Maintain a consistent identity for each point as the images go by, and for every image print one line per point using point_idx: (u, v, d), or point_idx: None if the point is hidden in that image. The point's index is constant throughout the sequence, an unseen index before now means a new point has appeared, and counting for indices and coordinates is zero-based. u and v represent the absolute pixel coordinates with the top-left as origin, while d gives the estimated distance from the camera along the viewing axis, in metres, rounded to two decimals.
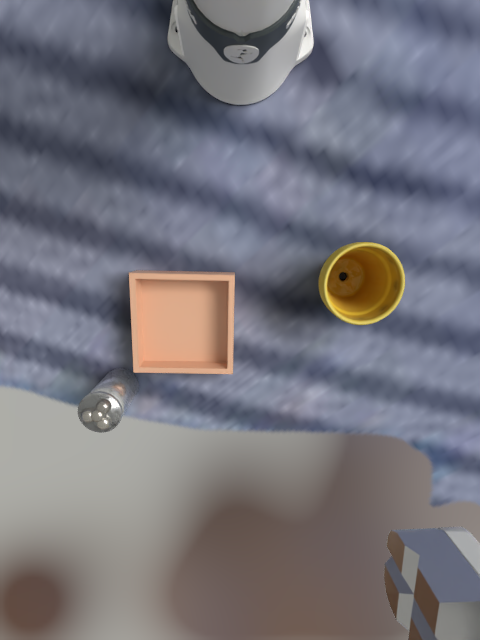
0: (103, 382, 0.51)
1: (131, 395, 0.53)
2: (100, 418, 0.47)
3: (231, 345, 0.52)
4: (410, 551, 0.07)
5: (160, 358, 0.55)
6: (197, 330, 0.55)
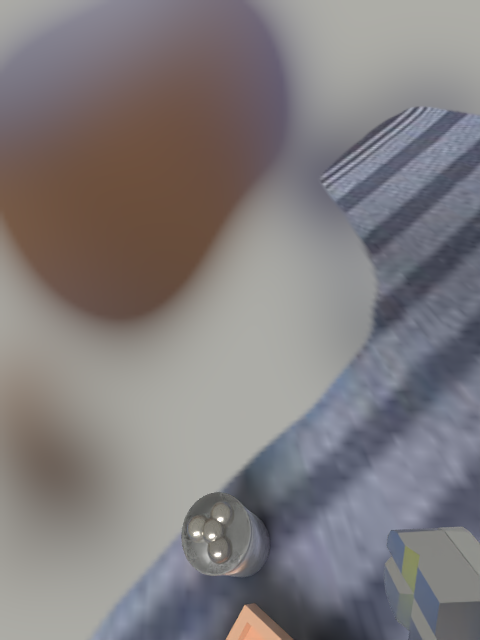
0: (257, 549, 0.31)
1: None
2: (205, 534, 0.28)
3: None
4: (410, 551, 0.07)
5: None
6: None
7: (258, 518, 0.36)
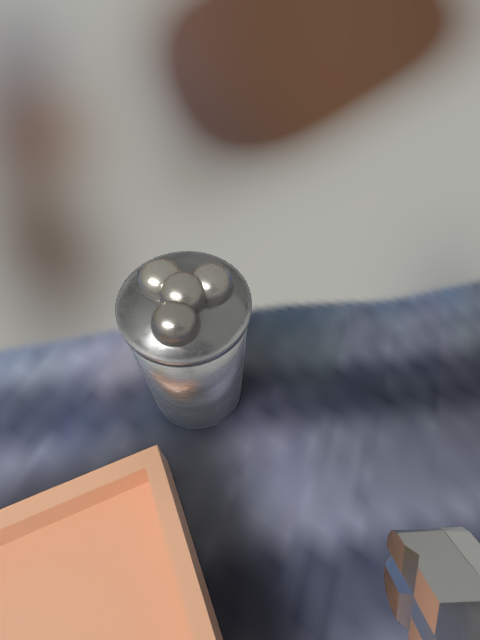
0: (223, 385, 0.18)
1: None
2: (167, 284, 0.14)
3: None
4: (410, 551, 0.07)
5: (109, 507, 0.18)
6: None
7: None
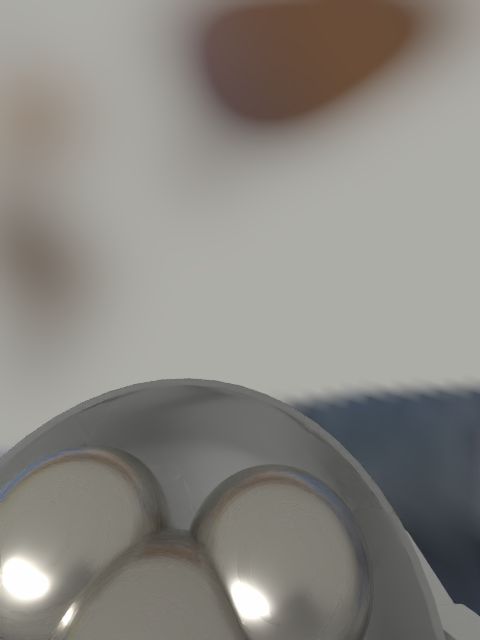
0: None
1: None
2: None
3: None
4: None
5: None
6: None
7: None
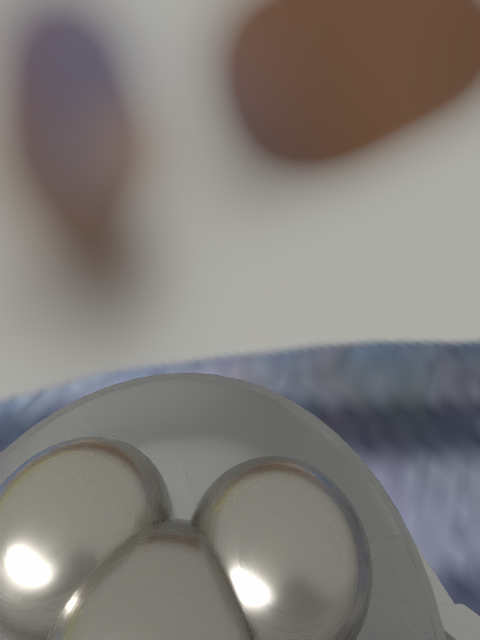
0: None
1: None
2: None
3: None
4: None
5: None
6: None
7: None
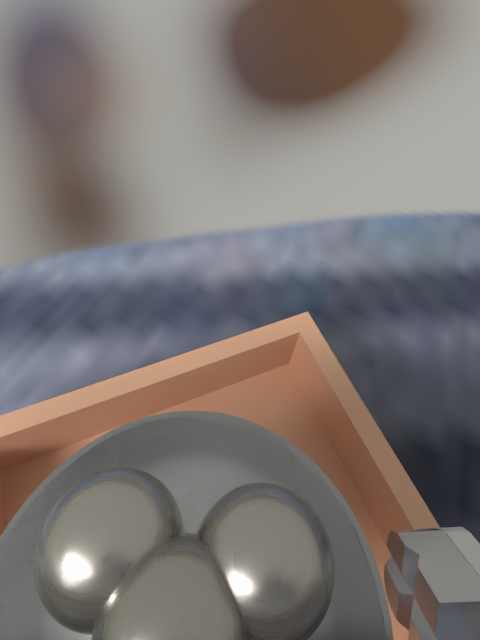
0: None
1: None
2: None
3: None
4: (410, 551, 0.07)
5: (243, 388, 0.17)
6: None
7: None
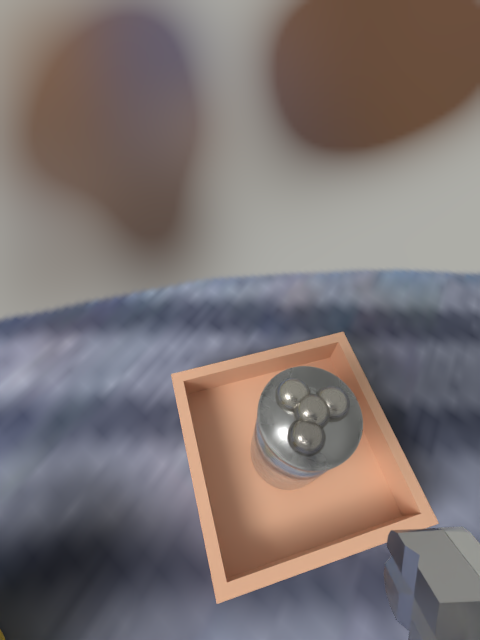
0: (324, 472, 0.22)
1: (256, 450, 0.24)
2: (303, 407, 0.19)
3: (185, 428, 0.26)
4: (410, 551, 0.07)
5: None
6: None
7: None
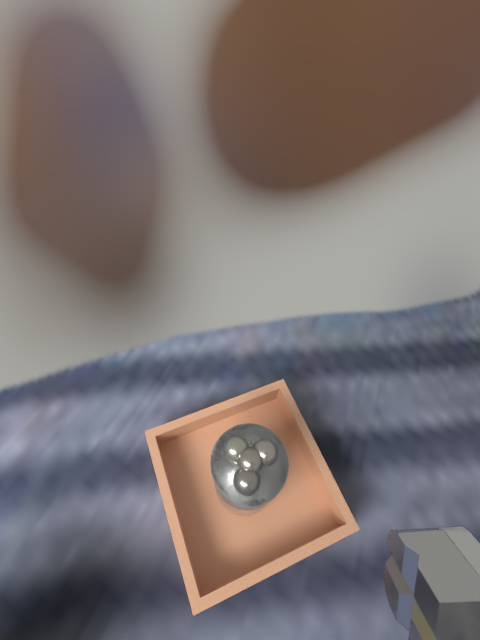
0: (268, 502, 0.29)
1: (216, 489, 0.30)
2: (242, 459, 0.25)
3: (159, 476, 0.32)
4: (410, 551, 0.07)
5: (256, 410, 0.38)
6: None
7: None
